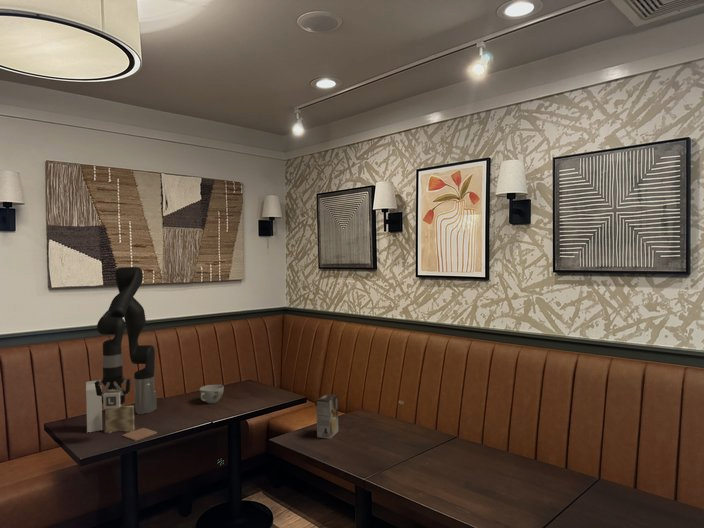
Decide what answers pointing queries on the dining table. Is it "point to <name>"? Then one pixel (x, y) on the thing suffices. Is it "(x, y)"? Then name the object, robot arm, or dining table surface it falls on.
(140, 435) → the coaster
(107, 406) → the cube
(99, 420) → the milk
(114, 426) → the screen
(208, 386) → the teacup
